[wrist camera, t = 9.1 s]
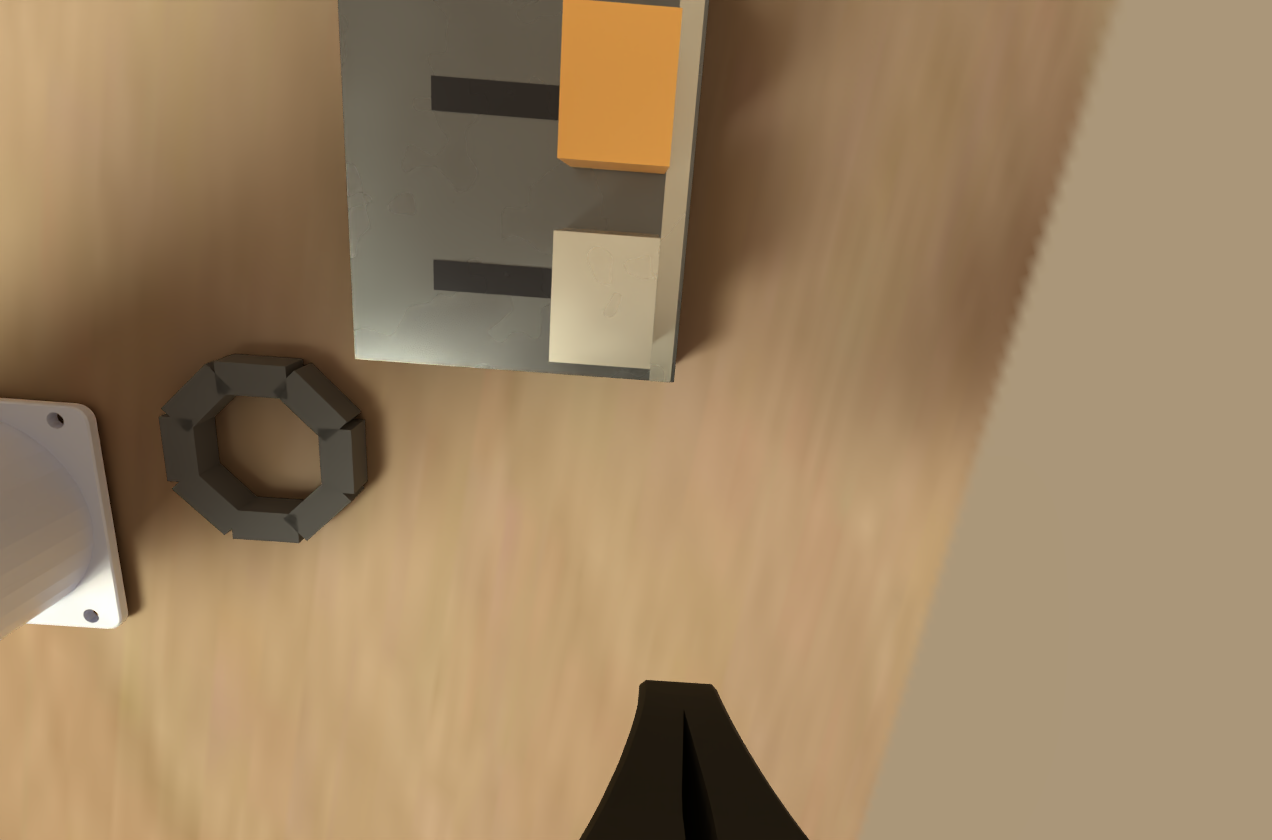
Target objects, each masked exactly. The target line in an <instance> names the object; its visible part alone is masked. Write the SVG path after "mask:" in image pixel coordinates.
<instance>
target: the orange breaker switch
mask: <svg viewBox="0 0 1272 840" xmlns="http://www.w3.org/2000/svg"><path fill="white" fill-rule="evenodd" d="M682 10H683V8H678V7H666V6H654V5H642V4H630V3H617V2H605V1H593V0H563V15H562V42H561V69H560V96H559V123H558V150H557V158H558V159H560V160H561V161H563V162H564V163H566V164H567V165H569V166H570V167H579V168H592V169H604V170H617V171H630V172H643V173H656V174H665V173H666V171H667V170H668V168H669V167H670V155H671V143H672V131H673V119H674V107H675V95H676V83H677V70H678V58H679V46H680V34H681V22H682Z"/></svg>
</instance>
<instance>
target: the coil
mask: <svg viewBox="0 0 1272 840" xmlns="http://www.w3.org/2000/svg"><path fill="white" fill-rule="evenodd" d="M236 395H238V396H252V397H266V398H279V399H280V400H281V401H282V402H283V403H284V404H285V405H286V406H288V407H289V408H290V409H291V410H292V411H293V412H294V413H295V414H296V415H297V416H298V417H299V418H300V419H301V420H302V421H303V422H304V423H305V424H306V425H307V426H308V427H310V428H311V429H312V430H313V431H314V432H315V433H316V434H317V435H318V437H319V452H320V467H321V483H322V484H321V485H320V486H319V487H318V488H317V489H316V490H315V491H313V492H312V493H311V494H310V495H309V496H308V497H307V498H306V499H305V500H298V499H284V498H269V497H257V496H256V495H254V494H253V493H252V492H251V491H250V490H249V489H248V488H247V487H246V486H245V485H243V484H242V483H241V482H240V481H239V480H238V479H237V478H236V477H235V476H233V475H232V474H231V473H230V472H229V471H228V470H227V469H226V468H225V467H224V466H222V465H221V464H220V461H219V452H218V443H217V434H216V425H215V416H216V415H217V414H218V413H219V412H220V411H221V410H222V409H223V408H224V407H225V406H226V405H227V404H228V403H229V402H230V401H231V400H232V399H233V398H234V397H235V396H236ZM161 409H162V410H163V411H164V412H165V413H166V414H164V415H161V416H159V423H160V430H161V437H162V445H163V452H164V459H165V466H166V474H167V481H176V482H179V483H177V484H176V485H175V486H174V487H173V488H172V489H173V490H174V491H175V492H176V493H177V494H178V495H179V496H181V497H182V498H183V499H184V500H185V501H186V502H187V503H189V504H190V505H191V506H192V507H193V508H194V509H195V510H197V511H198V512H199V513H200V514H201V515H202V516H203V517H205V518H206V519H207V520H208V521H209V522H210V523H211V524H213V525H214V526H215V527H216V528H217V529H218V530H219V531H220V532H222V533H223V534H224V535H225V534H227V533H228V532H229V531H230V530H232V533H233V539H247V540H262V541H276V542H291V543H300V542H301V541H302V540H303V539H304V538H305V539H306V540H308V539H309V538H311V537H312V536H313V535H314V534H315V533H316V532H317V531H318V530H320V529H321V528H322V527H323V526H324V525H325V524H326V523H327V522H329V521H330V520H331V519H332V518H333V517H334V516H335V515H336V514H338V513H339V512H340V511H341V510H342V509H343V508H344V507H345V506H347V505H348V504H349V503H350V502H351V501H352V500H353V499H354V498H355V497H356V496H357V495H358V494H359V493H360V492H361V491H362V490H363V489H364V487H363V485H364V484H365V483H366V482H367V481H368V479H367V456H366V434H365V420H361V419H354V418H355V417H356V416H357V415H358V414H359V413H360V412H361V411H360V410H359V409H358V408H357V407H356V406H355V405H354V404H353V403H352V402H351V401H350V400H349V399H348V398H347V397H346V396H345V395H344V394H343V393H342V392H341V391H340V390H339V389H338V388H337V387H336V386H335V385H334V384H332V383H331V382H330V381H329V380H328V379H327V378H326V377H325V376H324V375H323V374H322V373H321V372H320V371H319V370H318V369H317V368H316V367H315V366H314V365H313V364H312V363H310V364H307V365H305V366H303V359H298V358H284V357H270V356H257V355H243V354H233V355H230V356H227V357H224V358H221V359H218V360H215V361H213V362H210V363H207V364H205V365H204V366H203V367H202V368H201V369H200V370H199V371H198V372H197V373H196V374H195V375H194V376H193V377H192V378H191V379H190V380H189V381H188V382H187V383H186V384H185V385H184V386H183V387H182V388H181V389H180V390H179V391H178V392H177V393H176V394H175V395H174V396H173V397H172V398H171V399H170V400H169V401H168V402H167V403H166V404H165V405H164V406H163V407H162V408H161Z"/></svg>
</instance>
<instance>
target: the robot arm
mask: <svg viewBox="0 0 1272 840" xmlns="http://www.w3.org/2000/svg"><path fill="white" fill-rule="evenodd" d="M57 414H59V415H60V416H61V417H62V418H63V420H64V424H62V423H61V422H60V421H59V420H58V418H57ZM93 610H94V611H95V612H97V613H98V615H99V616H98V615H96V614H95V613H94V612H93ZM127 617H128V609H127V603H126V597H125V591H124V585H123V579H122V573H121V566H120V560H119V554H118V548H117V542H116V536H115V530H114V524H113V518H112V512H111V506H110V500H109V494H108V488H107V482H106V476H105V470H104V464H103V458H102V452H101V446H100V440H99V434H98V428H97V421H96V418H95V415H94V413H93V412H92V411H91V410H90V408H88V407H86V406H85V405H82V404H78V403H66V402H52V401H38V400H24V399H10V398H0V640H2V639H3V638H5V637H6V636H8V635H9V634H11V633H12V632H14V631H15V630H17V629H18V628H20V627H21V626H23V625H24V624H26V623H28V624H43V625H58V626H74V627H89V628H104V629H113V628H116V627H118V626H119V625H121V624H122V623H123V622H124V621H126V619H127ZM580 840H809V839H808V838H807V836H806V835H805V834H804V832H803V831H802V830H801V829H800V827H799V826H798V825H797V823H796V822H795V821H794V819H793V818H792V816H791V815H790V814H789V812H788V811H787V809H786V808H785V807H784V805H783V804H782V802H781V801H780V799H779V798H778V797H777V795H776V794H775V792H774V791H773V789H772V788H771V786H770V785H769V783H768V782H767V780H766V779H765V777H764V775H763V774H762V772H761V771H760V769H759V767H758V766H757V764H756V763H755V761H754V759H753V758H752V756H751V754H750V753H749V751H748V749H747V748H746V746H745V744H744V743H743V741H742V739H741V737H740V736H739V734H738V732H737V730H736V728H735V726H734V725H733V723H732V721H731V719H730V717H729V715H728V713H727V711H726V709H725V707H724V705H723V703H722V701H721V699H720V697H719V694H718V692H717V690H716V689H715V688H714V687H713V685H712V684H698V683H683V682H668V681H653V680H646V681H644V682H643V683H642V684H640V686H639V697H638V706H637V710H636V714H635V718H634V721H633V725H632V728H631V731H630V734H629V737H628V739H627V742H626V745H625V747H624V750H623V753H622V755H621V758H620V761H619V763H618V765H617V768H616V770H615V772H614V774H613V776H612V778H611V781H610V783H609V785H608V787H607V789H606V791H605V793H604V796H603V798H602V800H601V802H600V804H599V806H598V807H597V809H596V811H595V813H594V815H593V817H592V819H591V820H590V822H589V824H588V826H587V828H586V829H585V831H584V833H583V834H582V836H581V838H580Z"/></svg>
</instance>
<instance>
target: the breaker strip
mask: <svg viewBox="0 0 1272 840" xmlns="http://www.w3.org/2000/svg"><path fill="white" fill-rule="evenodd" d="M593 1H605V2H617V3H630V4H642V5H654V6H666V7H678V8H683V10H682V22H681V34H680V46H679V58H678V70H677V83H676V95H675V107H674V119H673V131H672V143H671V155H670V167H669V168H668V170H667V171H666V173H665V174H656V173H643V172H630V171H617V170H604V169H592V168H579V167H570V166H569V165H567V164H566V163H564V162H563V161H561V160H560V159H558V158H557V150H558V123H559V96H560V69H561V42H562V15H563V0H338V13H339V34H340V55H341V76H342V97H343V118H344V138H345V159H346V180H347V201H348V222H349V243H350V264H351V284H352V305H353V326H354V347H355V359H362V360H376V361H389V362H403V363H417V364H431V365H444V366H458V367H472V368H485V369H499V370H513V371H527V372H540V373H554V374H568V375H582V376H595V377H609V378H623V379H636V380H649V381H658V382H674V375H675V364H676V353H677V342H678V331H679V320H680V310H681V299H682V288H683V277H684V266H685V256H686V245H687V234H688V223H689V212H690V201H691V191H692V180H693V169H694V158H695V147H696V136H697V126H698V115H699V104H700V93H701V82H702V71H703V61H704V50H705V39H706V28H707V17H708V6H709V0H593Z"/></svg>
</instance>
